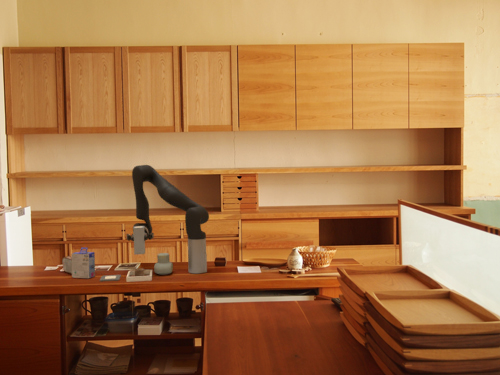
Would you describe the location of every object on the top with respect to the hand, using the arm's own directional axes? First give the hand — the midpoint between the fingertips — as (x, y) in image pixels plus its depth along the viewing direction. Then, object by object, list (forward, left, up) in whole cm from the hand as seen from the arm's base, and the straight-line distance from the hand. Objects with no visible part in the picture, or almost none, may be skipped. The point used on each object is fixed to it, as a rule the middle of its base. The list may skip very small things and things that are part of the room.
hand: (139, 239), depth 222 cm
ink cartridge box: (+28, -8, -19) cm, 35 cm away
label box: (0, -3, -8) cm, 8 cm away
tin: (+36, -18, -19) cm, 44 cm away
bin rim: (0, 0, -19) cm, 19 cm away
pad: (+14, -2, -19) cm, 24 cm away
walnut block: (0, +3, -19) cm, 19 cm away
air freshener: (-11, -6, -19) cm, 23 cm away
